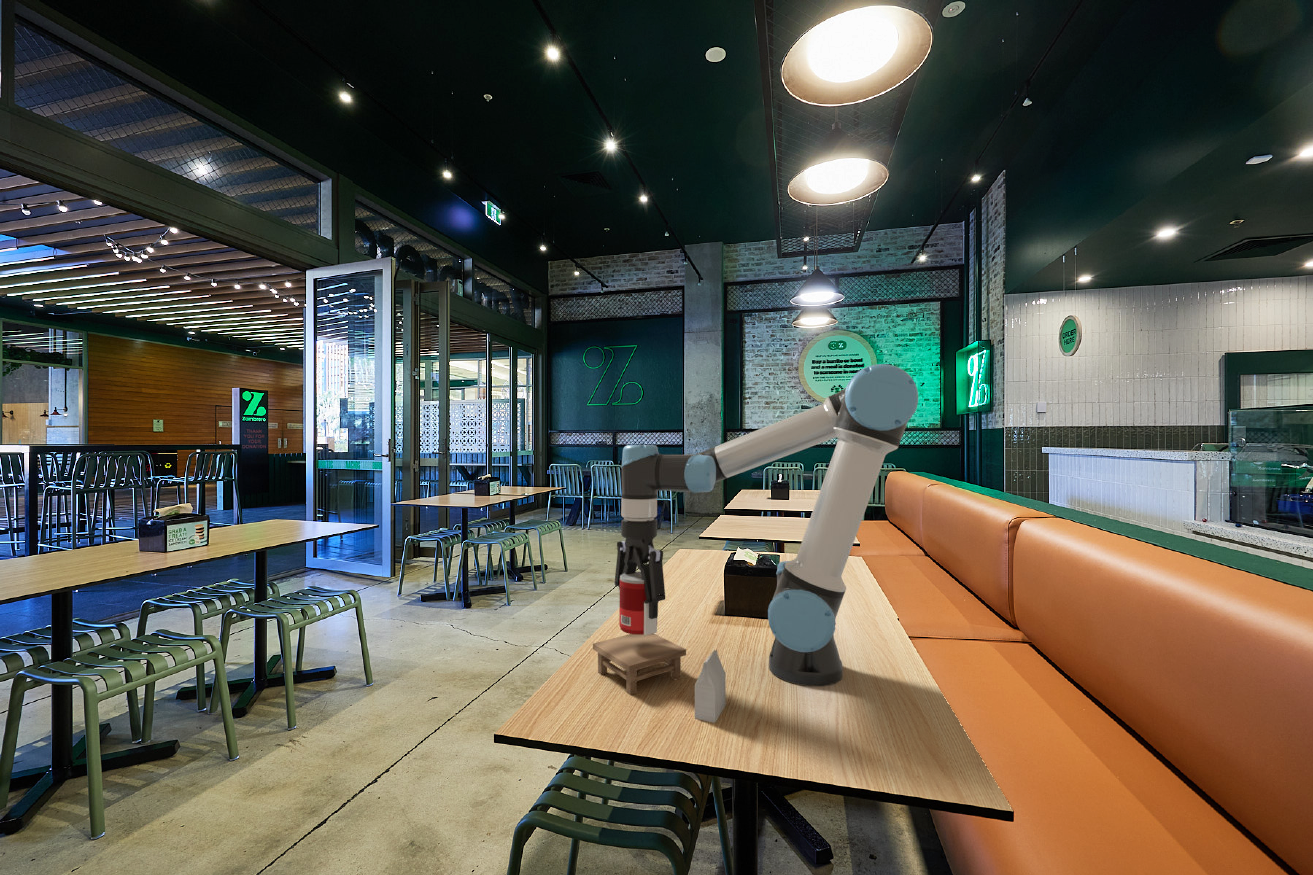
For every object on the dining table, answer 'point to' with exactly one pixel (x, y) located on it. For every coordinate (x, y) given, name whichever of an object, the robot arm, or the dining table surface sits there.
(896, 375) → the robot arm
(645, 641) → the stool
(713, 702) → the grey pointed block
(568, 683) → the dining table surface
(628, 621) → the canned food
